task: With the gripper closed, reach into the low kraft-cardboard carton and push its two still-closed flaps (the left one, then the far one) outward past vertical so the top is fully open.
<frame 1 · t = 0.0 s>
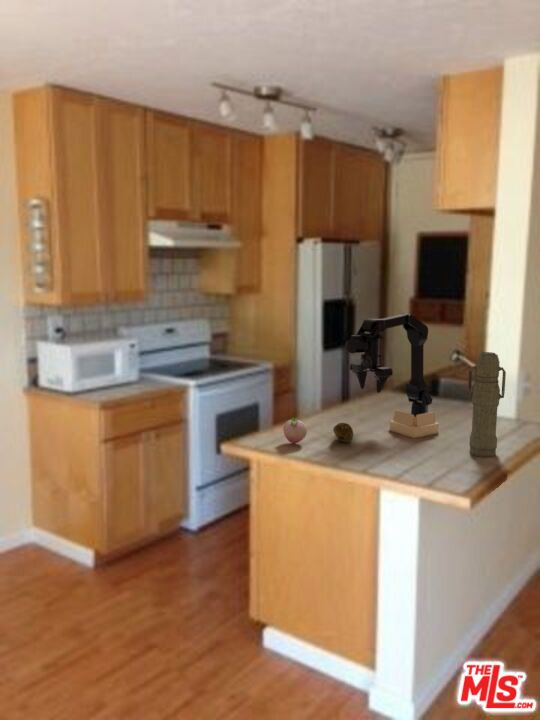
hand: (370, 390, 264), 15 cm above the counter, tool pointing down, fingers open, 9 cm apart
far flap: (403, 417, 255), point 6 cm above the counter, hinge at -10.0°
thermos: (482, 454, 232), on the counter
potato: (343, 443, 245), on the counter
decorative fruit: (295, 444, 243), on the counter
left flap: (425, 418, 254), point 6 cm above the counter, hinge at 10.0°
carton: (413, 431, 259), on the counter
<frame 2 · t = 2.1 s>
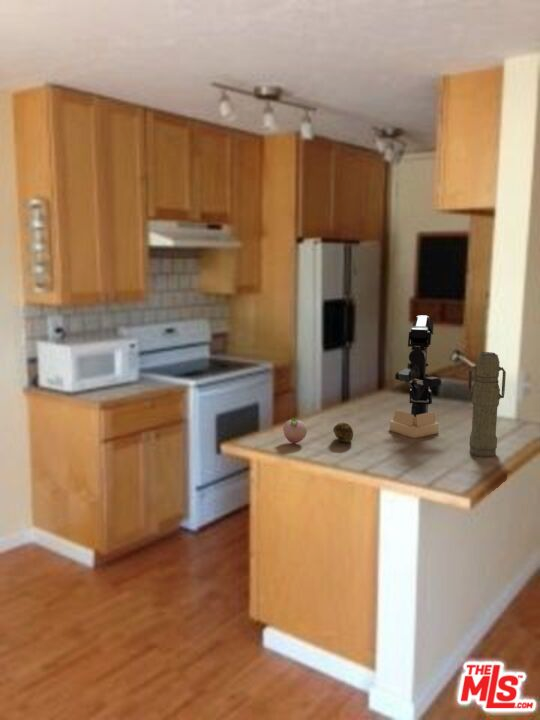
hand: (416, 400, 259), 12 cm above the counter, tool pointing down, fingers closed
nothing on the counter moved.
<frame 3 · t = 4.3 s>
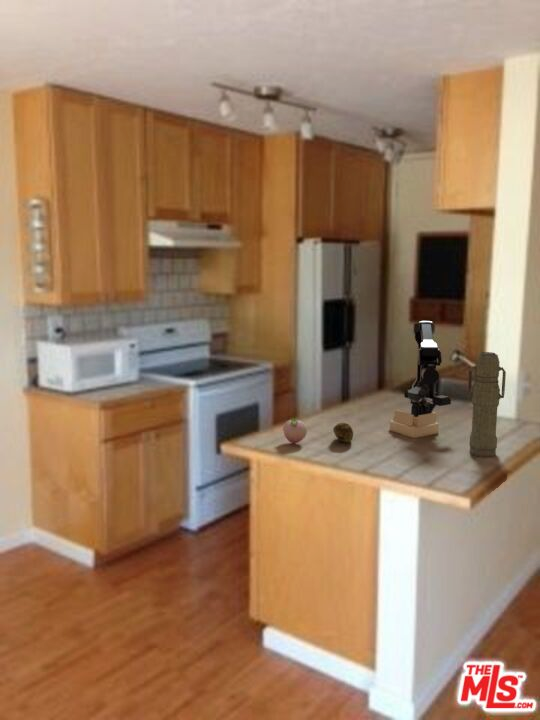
hand: (426, 419, 255), 6 cm above the counter, tool pointing down, fingers closed
left flap: (427, 419, 253), point 6 cm above the counter, hinge at -4.6°, touching gripper
everything else where it was.
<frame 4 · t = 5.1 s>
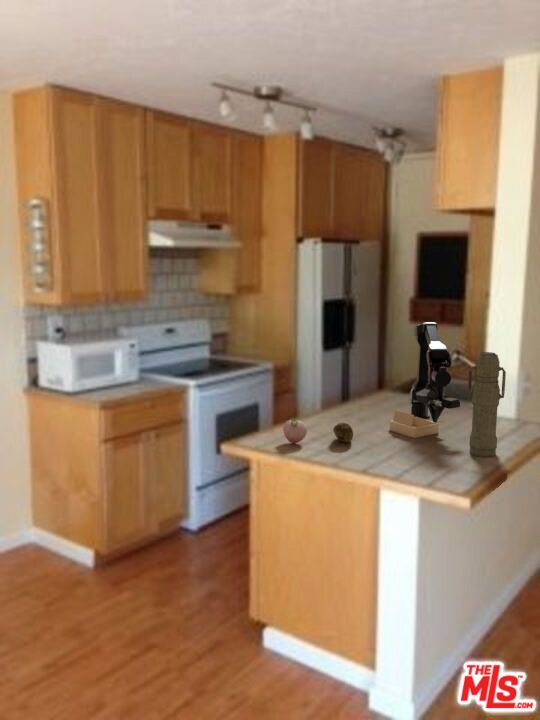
hand: (434, 422, 252), 6 cm above the counter, tool pointing down, fingers closed
left flap: (430, 423, 252), point 5 cm above the counter, hinge at -65.7°, touching gripper
everything else where it was.
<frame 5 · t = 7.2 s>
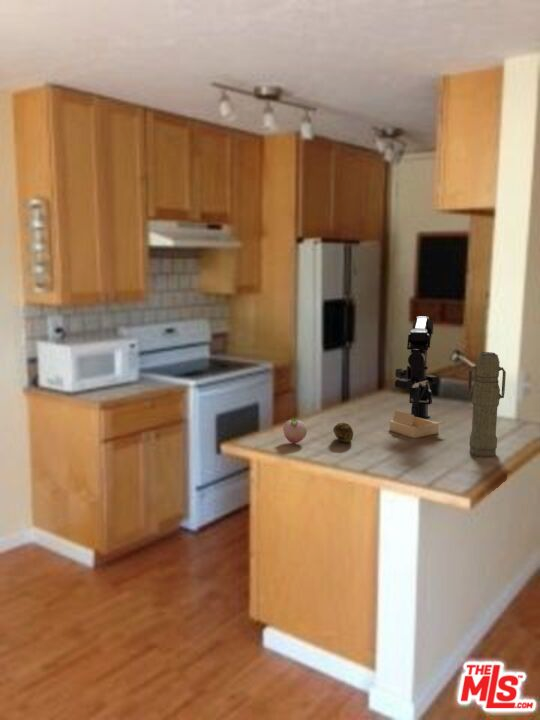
hand: (416, 403, 258), 11 cm above the counter, tool pointing down, fingers closed
left flap: (431, 424, 252), point 5 cm above the counter, hinge at -72.2°
everything else where it was.
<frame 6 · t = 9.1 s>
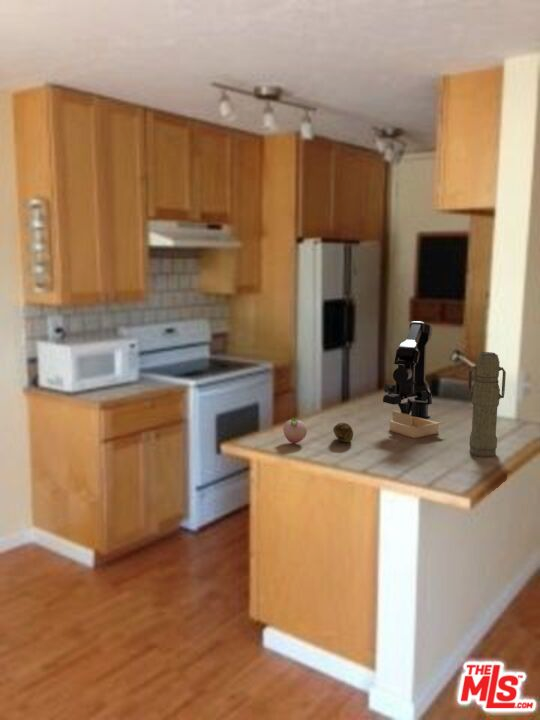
hand: (404, 419, 256), 6 cm above the counter, tool pointing down, fingers closed
far flap: (402, 418, 255), point 6 cm above the counter, hinge at 10.0°, touching gripper
everything else where it was.
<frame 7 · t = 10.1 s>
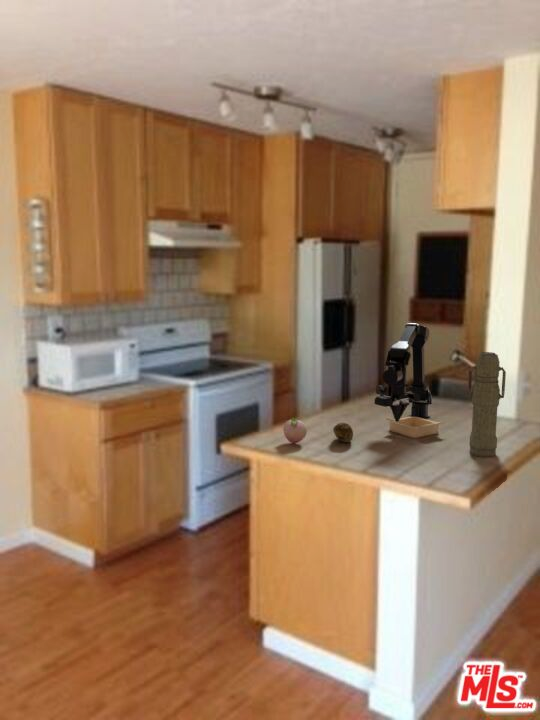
hand: (396, 421, 253), 6 cm above the counter, tool pointing down, fingers closed
far flap: (398, 422, 254), point 5 cm above the counter, hinge at 68.2°, touching gripper
everything else where it was.
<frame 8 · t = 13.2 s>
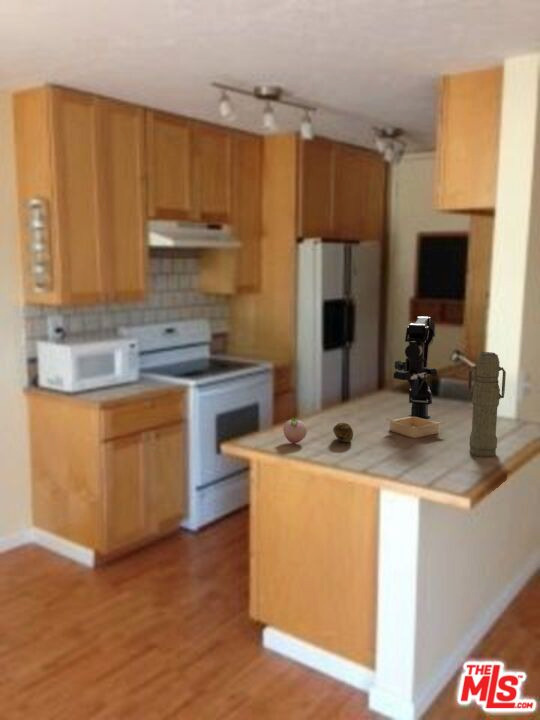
hand: (414, 395, 264), 13 cm above the counter, tool pointing down, fingers closed
far flap: (398, 422, 254), point 5 cm above the counter, hinge at 69.0°
everything else where it was.
at the end: left flap at -72° (first picture: +10°); far flap at +69° (first picture: -10°) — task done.
